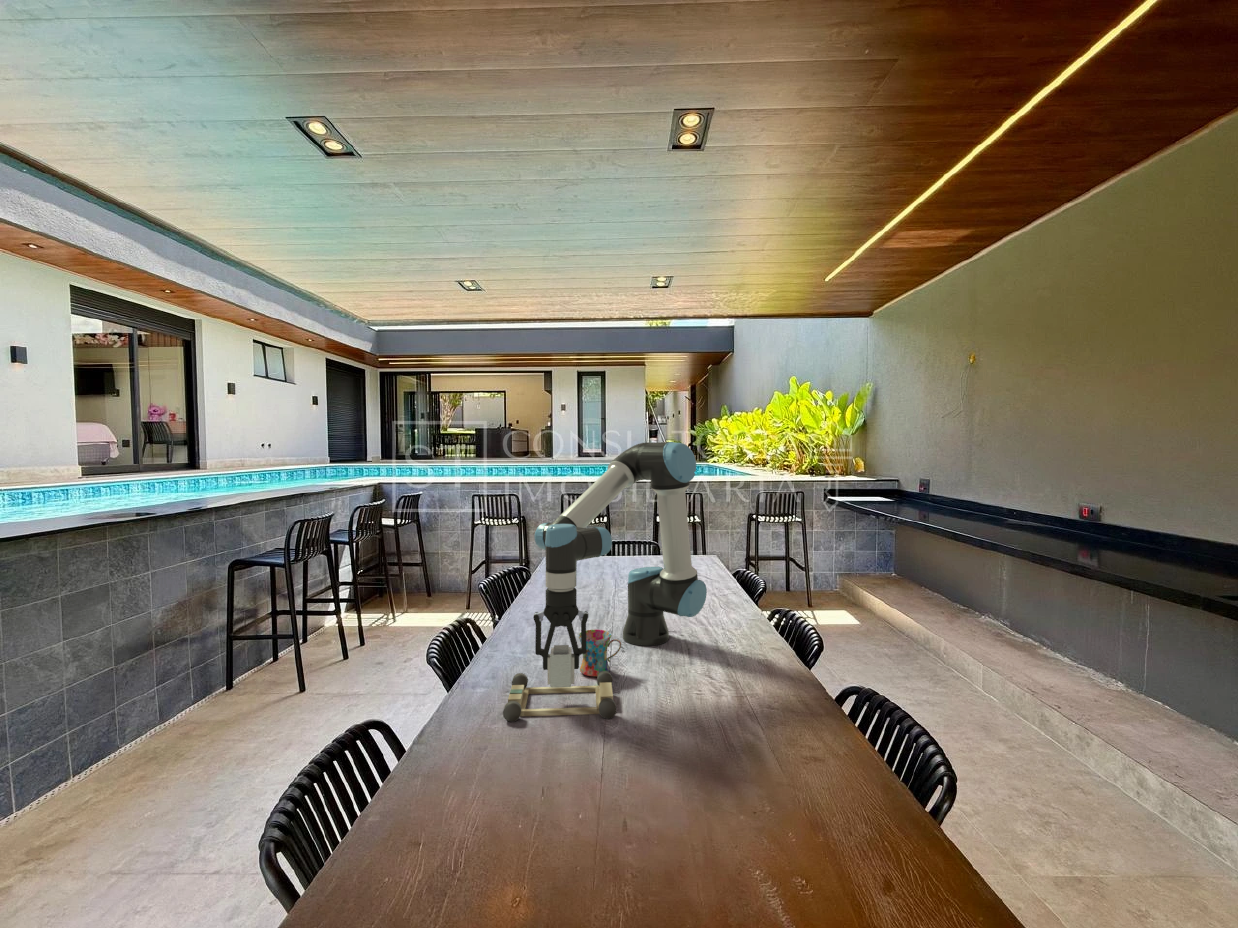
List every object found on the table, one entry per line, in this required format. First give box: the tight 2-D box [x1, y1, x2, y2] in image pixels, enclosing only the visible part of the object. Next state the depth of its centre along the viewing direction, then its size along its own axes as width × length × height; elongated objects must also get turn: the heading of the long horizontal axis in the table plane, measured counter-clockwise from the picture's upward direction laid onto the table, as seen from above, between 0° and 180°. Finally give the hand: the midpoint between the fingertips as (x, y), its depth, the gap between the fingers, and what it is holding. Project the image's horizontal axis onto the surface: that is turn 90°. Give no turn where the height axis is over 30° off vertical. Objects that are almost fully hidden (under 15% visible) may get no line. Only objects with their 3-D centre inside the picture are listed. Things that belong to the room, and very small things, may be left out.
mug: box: [577, 629, 622, 677], centre depth 157 cm, size 12×9×11 cm
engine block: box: [549, 644, 573, 688], centre depth 139 cm, size 5×5×9 cm
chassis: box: [502, 671, 617, 723], centre depth 139 cm, size 26×18×4 cm
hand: (561, 681), depth 139 cm, fingers closed on engine block, 5 cm apart
